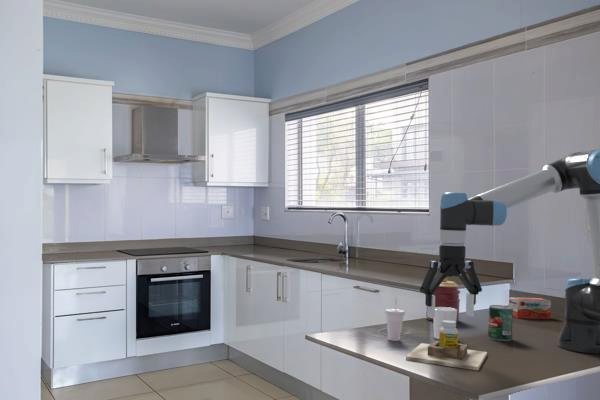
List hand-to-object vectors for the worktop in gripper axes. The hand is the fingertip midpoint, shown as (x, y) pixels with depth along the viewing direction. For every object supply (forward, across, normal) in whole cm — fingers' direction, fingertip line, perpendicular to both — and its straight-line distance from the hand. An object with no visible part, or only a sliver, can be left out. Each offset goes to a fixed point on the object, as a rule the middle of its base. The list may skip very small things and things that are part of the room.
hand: (450, 316), depth 177 cm
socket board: (+12, +1, 0) cm, 12 cm away
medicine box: (+14, -79, -54) cm, 97 cm away
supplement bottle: (+11, 0, 0) cm, 11 cm away
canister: (+13, -34, -53) cm, 64 cm away
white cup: (+12, -14, -24) cm, 30 cm away
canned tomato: (+13, -35, -20) cm, 42 cm away
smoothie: (+12, +5, -24) cm, 27 cm away
